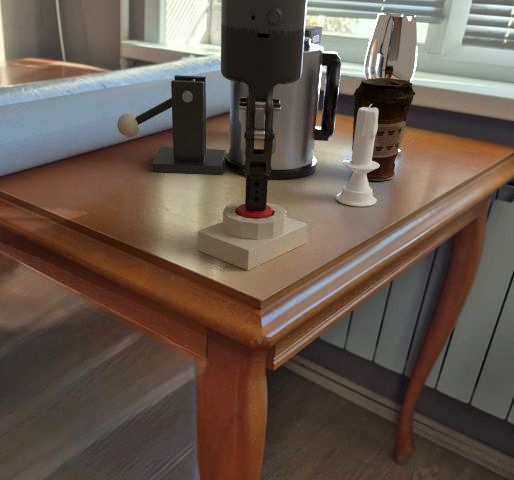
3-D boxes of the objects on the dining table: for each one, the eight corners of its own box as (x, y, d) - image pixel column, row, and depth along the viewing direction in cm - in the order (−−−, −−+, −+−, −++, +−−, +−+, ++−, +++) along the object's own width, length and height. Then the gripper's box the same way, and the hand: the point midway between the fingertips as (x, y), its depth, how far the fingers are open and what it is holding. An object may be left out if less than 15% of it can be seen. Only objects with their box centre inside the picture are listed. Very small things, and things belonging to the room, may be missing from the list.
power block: (247, 271, 61) (249, 233, 59) (197, 250, 64) (197, 214, 62) (306, 243, 67) (309, 208, 65) (258, 225, 71) (259, 192, 69)
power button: (256, 233, 62) (257, 217, 61) (230, 224, 64) (230, 208, 63) (278, 224, 65) (279, 208, 64) (252, 215, 67) (252, 200, 66)
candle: (364, 192, 83) (377, 98, 76) (384, 205, 79) (399, 108, 72) (328, 195, 81) (339, 100, 75) (347, 208, 77) (360, 109, 71)
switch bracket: (152, 172, 86) (147, 82, 80) (160, 154, 94) (157, 71, 88) (222, 174, 87) (223, 86, 80) (225, 157, 94) (226, 75, 88)
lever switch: (123, 143, 87) (111, 122, 86) (127, 137, 90) (115, 117, 88) (202, 101, 84) (191, 78, 82) (204, 96, 87) (193, 74, 85)
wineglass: (373, 142, 106) (392, 11, 95) (410, 152, 101) (434, 16, 90) (344, 149, 101) (360, 12, 90) (381, 160, 97) (403, 17, 86)
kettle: (223, 177, 86) (225, 24, 75) (227, 151, 97) (229, 15, 87) (334, 182, 86) (352, 30, 76) (325, 155, 97) (339, 20, 87)
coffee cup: (410, 185, 86) (428, 87, 79) (354, 185, 85) (367, 86, 78) (389, 167, 94) (403, 75, 87) (337, 167, 92) (347, 74, 85)
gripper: (224, 13, 60) (222, 187, 69) (217, 26, 48) (216, 231, 58) (300, 17, 60) (288, 189, 69) (310, 31, 49) (294, 234, 58)
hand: (255, 208), depth 64 cm, fingers closed
